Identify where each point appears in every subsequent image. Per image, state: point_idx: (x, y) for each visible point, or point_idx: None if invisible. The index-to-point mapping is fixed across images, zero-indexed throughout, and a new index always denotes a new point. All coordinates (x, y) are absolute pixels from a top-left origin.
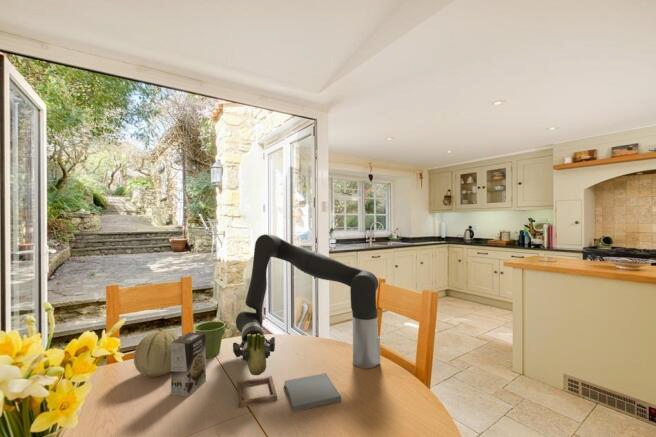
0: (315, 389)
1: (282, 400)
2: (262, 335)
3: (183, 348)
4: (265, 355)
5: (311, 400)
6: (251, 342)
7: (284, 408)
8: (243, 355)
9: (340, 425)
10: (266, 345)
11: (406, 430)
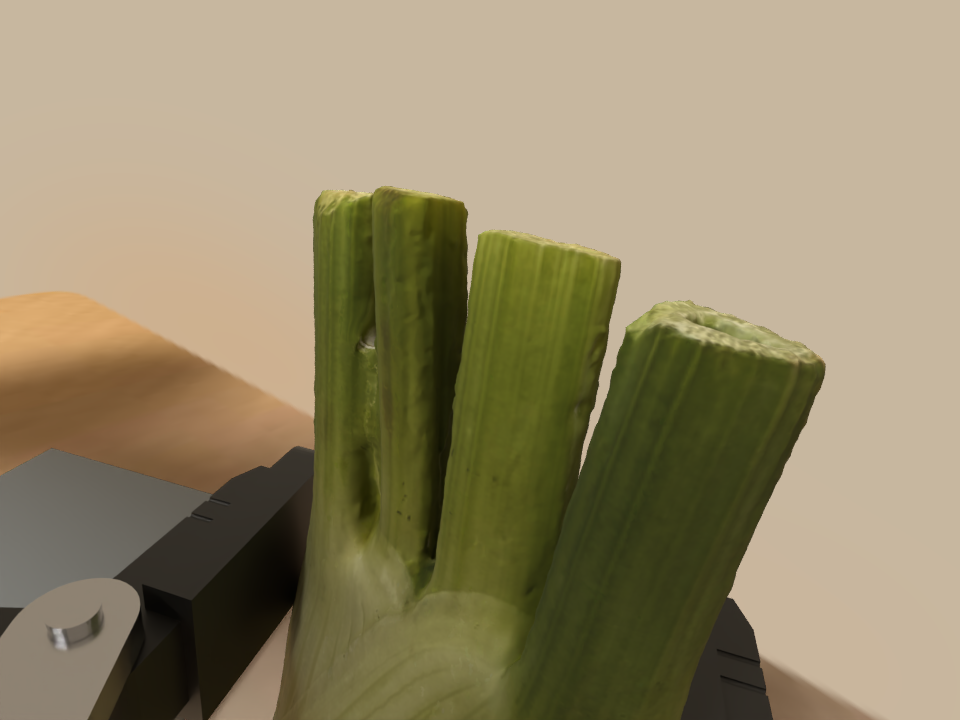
0: (41, 564)
1: (277, 688)
2: (347, 203)
3: None
4: (289, 592)
5: (195, 505)
6: (559, 567)
7: None
8: (734, 607)
9: (246, 408)
10: (101, 613)
11: (135, 326)
